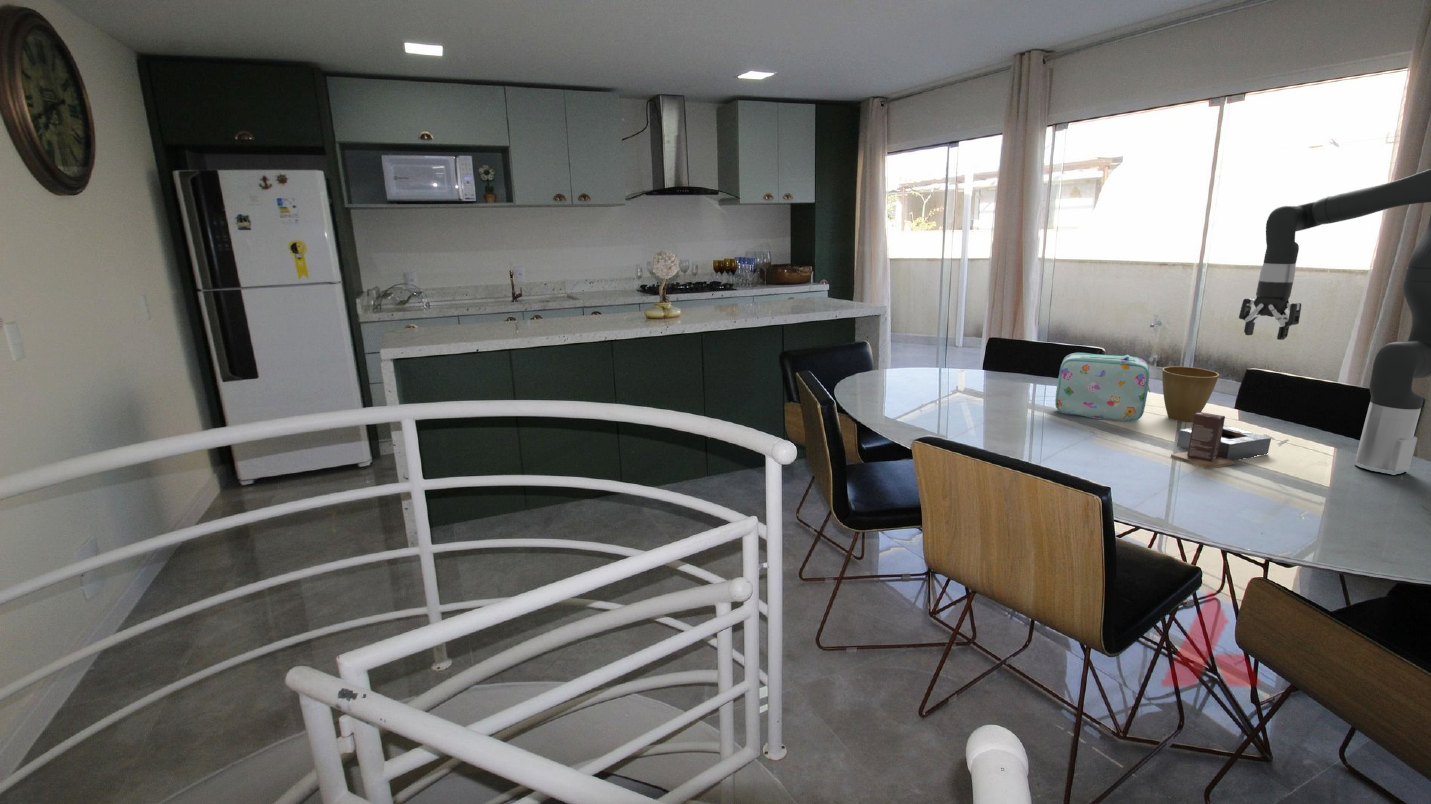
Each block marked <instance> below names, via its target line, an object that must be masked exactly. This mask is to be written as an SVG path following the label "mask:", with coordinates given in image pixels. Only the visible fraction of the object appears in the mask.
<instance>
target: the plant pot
mask: <svg viewBox="0 0 1431 804" xmlns="http://www.w3.org/2000/svg"><path fill="white" fill-rule="evenodd" d="M1161 372H1162V374H1161V375H1162V378H1161V379H1162V393H1163V401H1164V407H1165V412H1166V414H1167V417H1168V419H1170V420H1172V421H1177V422H1181V423H1193V419H1194V414H1196V413H1198V412H1203V409H1205V407H1206V404H1207V403H1208V401H1209V399H1210V397H1211V395H1212V394H1213V391H1214V389H1215V387H1216V384H1217V381H1218V379H1219V376H1220V373H1218V372H1216V371H1213V370H1209V369H1205V368H1200V367H1191V366H1177V365H1176V366H1174V365H1172V366H1165V367H1163V368H1162V371H1161Z"/></svg>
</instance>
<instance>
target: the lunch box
mask: <svg viewBox="0 0 1431 804" xmlns="http://www.w3.org/2000/svg"><path fill="white" fill-rule="evenodd" d="M1149 367H1150V366H1149V364H1148V363H1147V361H1145V360H1144V359H1142V358H1140V357H1137V356H1131V355H1130V354H1126V355H1113V354H1110V355H1109V354H1097V353H1088V352H1074V353H1070V354H1067V355H1065V357H1064V358H1063V359H1062V363H1061V364H1060V368H1059V374H1058V377H1057V385H1056V392H1055V403H1054V404H1055V408H1056V409H1057V410H1058V411H1059V412H1060V413H1062V414H1066V415H1073V416H1075V415H1076V416H1081V417H1082V416H1083V417H1087V418H1093V419H1097V420H1108V421H1109V420H1110V421H1118V422H1119V421H1120V422H1135V421H1136V422H1137V421H1139V420H1140V419H1141V418H1142V417H1143V415H1144V412H1145V409H1146V408H1145V407H1146V404H1147V398H1148V393H1151V388H1150V385H1149V384H1150V369H1149Z"/></svg>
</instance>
